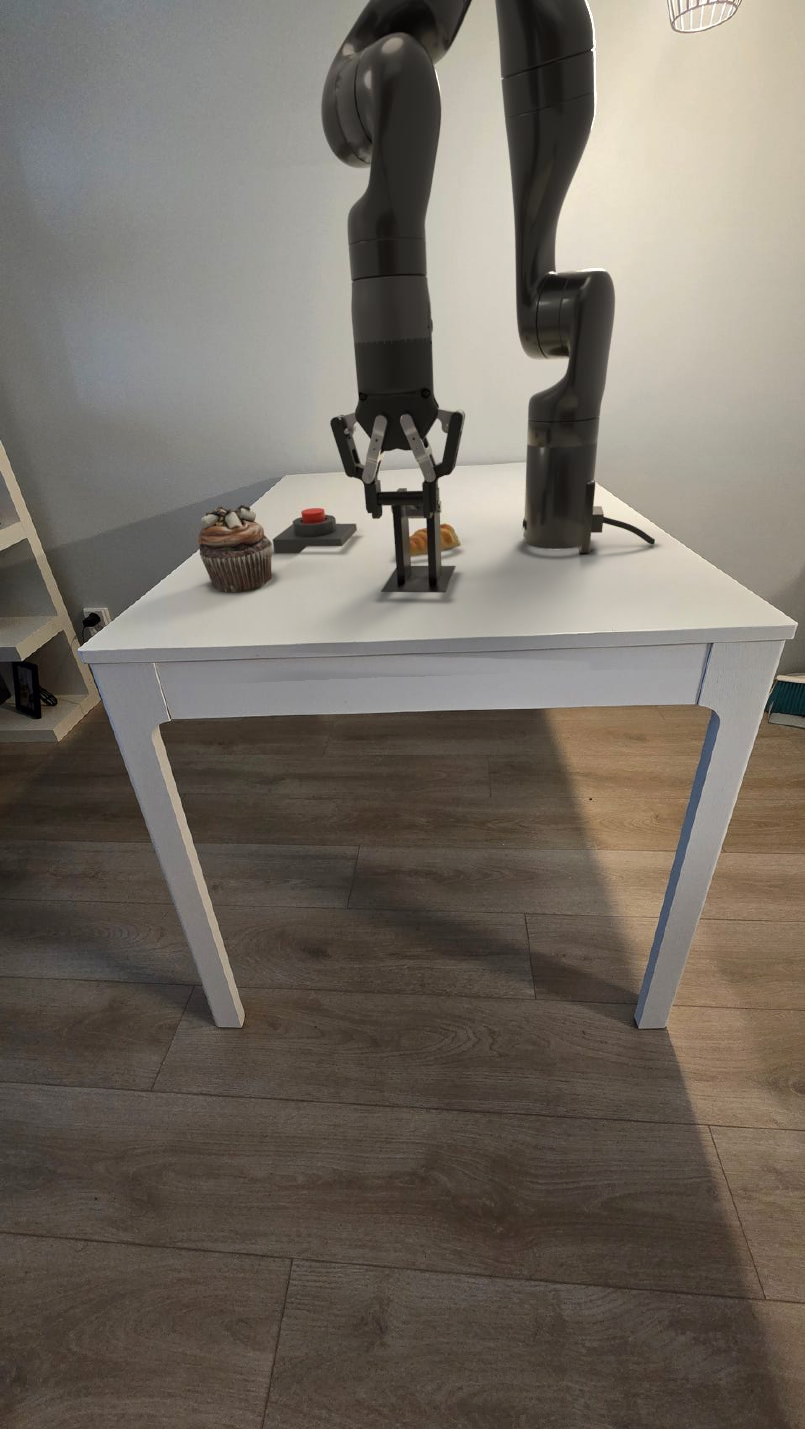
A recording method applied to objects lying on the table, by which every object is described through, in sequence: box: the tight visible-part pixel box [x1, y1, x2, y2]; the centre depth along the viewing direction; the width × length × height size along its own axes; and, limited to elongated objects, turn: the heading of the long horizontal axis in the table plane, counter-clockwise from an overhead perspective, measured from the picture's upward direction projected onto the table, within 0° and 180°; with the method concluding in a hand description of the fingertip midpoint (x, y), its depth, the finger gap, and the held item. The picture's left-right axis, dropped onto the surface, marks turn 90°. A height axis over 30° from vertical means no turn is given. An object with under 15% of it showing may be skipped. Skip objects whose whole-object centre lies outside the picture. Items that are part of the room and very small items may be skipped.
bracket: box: [380, 486, 457, 593], centre depth 79 cm, size 10×8×12 cm
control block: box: [272, 514, 358, 554], centre depth 101 cm, size 11×9×4 cm
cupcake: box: [197, 504, 273, 593], centre depth 86 cm, size 10×10×10 cm
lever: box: [377, 490, 425, 520], centre depth 73 cm, size 11×5×2 cm, turn 169°
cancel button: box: [300, 507, 326, 523], centre depth 100 cm, size 4×4×2 cm
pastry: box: [409, 522, 461, 557], centre depth 93 cm, size 9×7×4 cm
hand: (403, 516), depth 70 cm, fingers closed on lever, 5 cm apart
